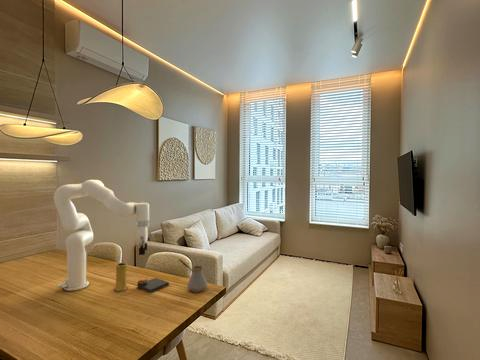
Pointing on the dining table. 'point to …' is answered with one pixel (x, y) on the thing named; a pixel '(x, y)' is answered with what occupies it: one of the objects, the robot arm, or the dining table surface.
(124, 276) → the vase
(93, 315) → the dining table surface
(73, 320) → the dining table surface
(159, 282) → the scale
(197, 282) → the coffee pot
